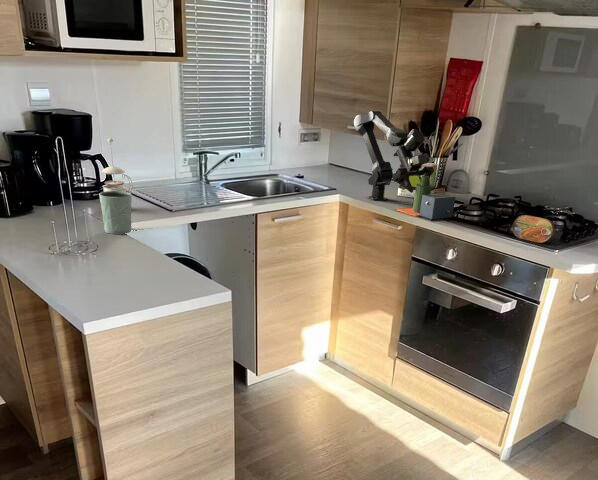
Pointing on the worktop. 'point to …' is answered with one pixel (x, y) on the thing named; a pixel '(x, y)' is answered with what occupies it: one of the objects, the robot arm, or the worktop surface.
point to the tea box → (418, 182)
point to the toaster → (437, 206)
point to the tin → (533, 228)
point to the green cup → (116, 211)
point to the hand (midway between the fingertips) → (420, 191)
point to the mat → (409, 211)
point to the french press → (113, 171)
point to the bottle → (421, 193)
